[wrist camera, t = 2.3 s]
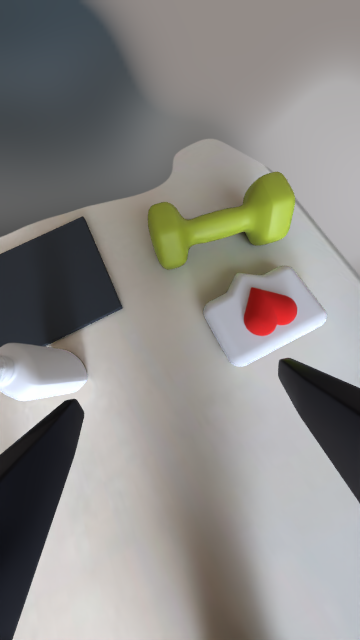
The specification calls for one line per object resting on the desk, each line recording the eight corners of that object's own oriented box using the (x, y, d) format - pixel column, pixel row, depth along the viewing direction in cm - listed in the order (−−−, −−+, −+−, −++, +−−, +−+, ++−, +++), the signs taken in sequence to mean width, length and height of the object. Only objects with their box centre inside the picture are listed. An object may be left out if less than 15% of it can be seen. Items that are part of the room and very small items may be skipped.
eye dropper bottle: (56, 398, 22) (-94, 430, 11) (52, 353, 24) (-84, 339, 12) (90, 387, 22) (-23, 407, 11) (83, 343, 24) (-22, 320, 12)
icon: (288, 238, 20) (350, 313, 18) (273, 260, 25) (321, 324, 22) (192, 286, 20) (241, 371, 17) (193, 300, 24) (232, 370, 21)
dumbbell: (163, 283, 25) (151, 251, 18) (152, 236, 27) (138, 191, 20) (280, 254, 25) (313, 209, 18) (260, 209, 27) (282, 153, 20)
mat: (123, 308, 25) (121, 306, 24) (-31, 383, 24) (-37, 383, 23) (84, 219, 29) (82, 216, 29) (-46, 279, 28) (-51, 277, 28)
